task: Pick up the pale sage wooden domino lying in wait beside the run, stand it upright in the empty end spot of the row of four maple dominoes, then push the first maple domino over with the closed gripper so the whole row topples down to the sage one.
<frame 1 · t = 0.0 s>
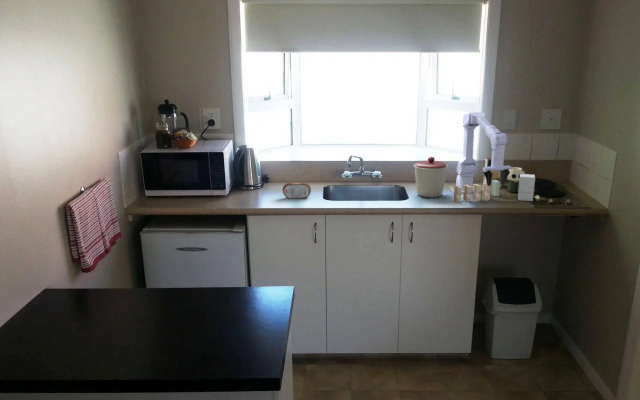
hand: (495, 184, 259), 10 cm above the table, tool pointing down, fingers open, 7 cm apart
canister: (429, 195, 280), on the table
end domino: (494, 195, 278), on the table
domino 3: (476, 199, 270), on the table
supplement box: (525, 199, 270), on the table
tin: (296, 198, 277), on the table
coffee box: (492, 186, 297), on the table
domino 2: (466, 200, 268), on the table
domino 4: (485, 199, 271), on the table
character mug: (513, 191, 285), on the table
domino 1: (457, 201, 267), on the table
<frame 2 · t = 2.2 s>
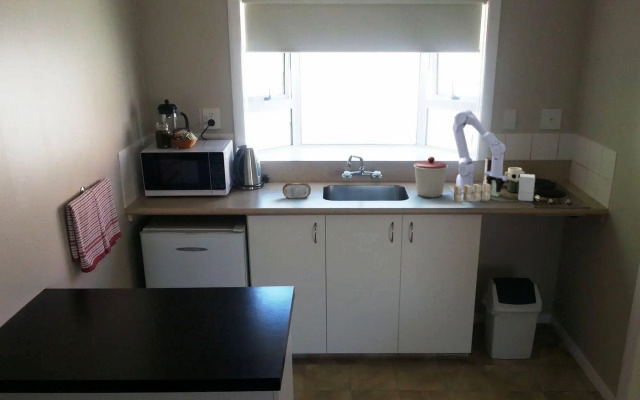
hand: (495, 191, 277), 2 cm above the table, tool pointing down, fingers closed on end domino, 5 cm apart
end domino: (494, 195, 278), on the table, touching gripper
everything else where it was.
when the fingers open (3 cm above the table, at t = 5.5 s): end domino drops 1 cm, on the table.
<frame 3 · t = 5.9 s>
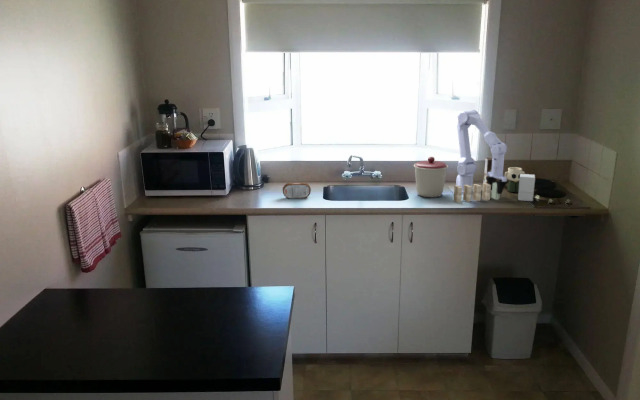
hand: (495, 191, 271), 3 cm above the table, tool pointing down, fingers open, 7 cm apart
end domino: (495, 198, 272), on the table
everything else where it was.
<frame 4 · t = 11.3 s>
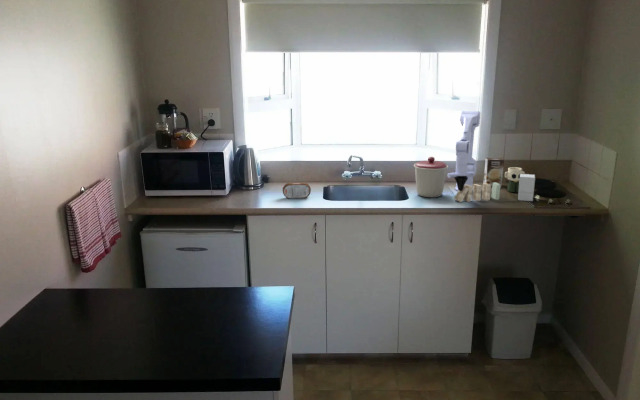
hand: (460, 190, 266), 6 cm above the table, tool pointing down, fingers closed
domino 2: (466, 200, 268), on the table, touching domino 1
domino 1: (457, 200, 267), on the table, tilted 29°, touching domino 2
everything else where it was.
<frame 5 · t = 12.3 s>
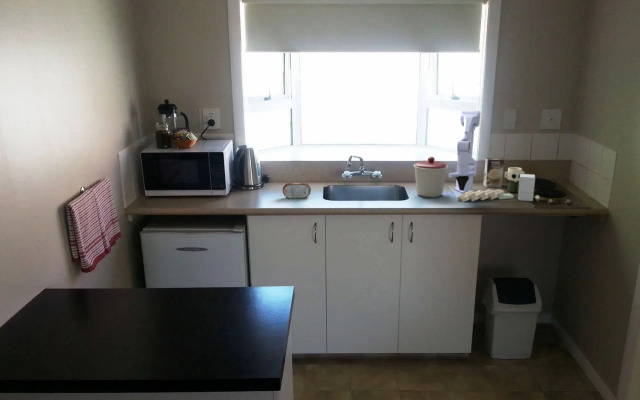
hand: (461, 190, 266), 6 cm above the table, tool pointing down, fingers closed
end domino: (497, 197, 272), on the table, tilted 90°
domino 3: (479, 197, 270), point 1 cm above the table, tilted 69°, touching domino 2, domino 4
domino 2: (469, 198, 268), point 1 cm above the table, tilted 69°, touching domino 1, domino 3
domino 4: (488, 196, 271), point 1 cm above the table, tilted 73°, touching domino 3
domino 1: (460, 199, 267), point 1 cm above the table, tilted 68°, touching domino 2
everything else where it was.
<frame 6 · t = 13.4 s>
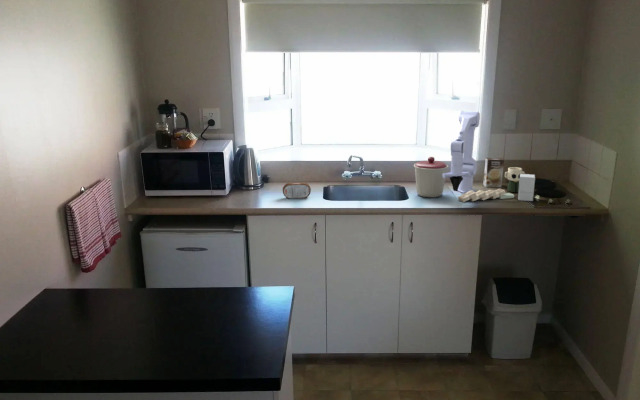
hand: (455, 190, 265), 6 cm above the table, tool pointing down, fingers closed
domino 3: (480, 197, 270), point 1 cm above the table, tilted 70°, touching domino 2
domino 4: (490, 196, 271), point 1 cm above the table, tilted 74°
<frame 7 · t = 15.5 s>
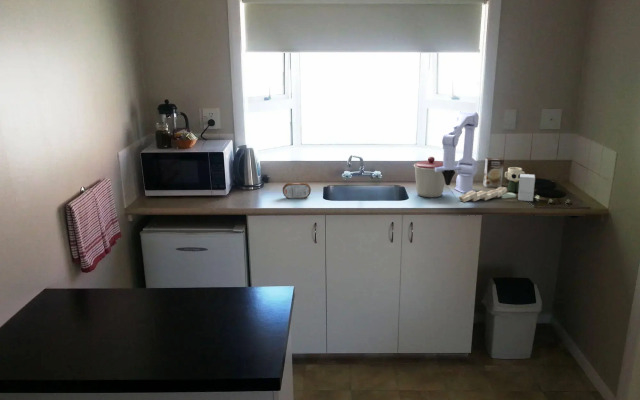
hand: (447, 184, 263), 9 cm above the table, tool pointing down, fingers closed
end domino: (500, 196, 274), on the table, tilted 90°
domino 3: (482, 197, 270), point 1 cm above the table, tilted 72°, touching domino 2, domino 4
domino 4: (494, 195, 273), point 1 cm above the table, tilted 72°, touching domino 3
at the end: end domino inside the target area (2.4 cm from its centre), point 0.5 cm above the table; end domino tilted 90°; domino 4 tilted 71° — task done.
